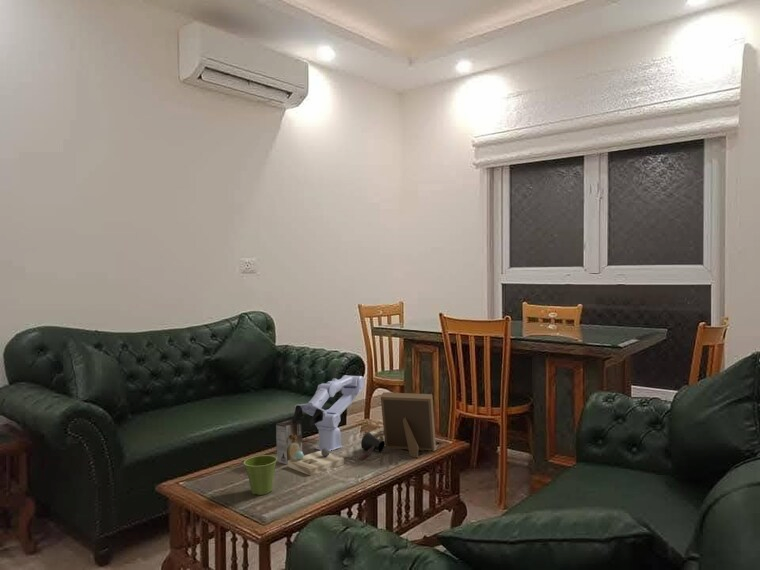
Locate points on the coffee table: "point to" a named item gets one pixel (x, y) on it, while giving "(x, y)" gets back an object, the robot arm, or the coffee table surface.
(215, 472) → the coffee table surface
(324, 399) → the robot arm
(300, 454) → the teal ball
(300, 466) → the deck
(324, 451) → the ball
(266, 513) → the coffee table surface
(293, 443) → the coffee box
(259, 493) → the plant pot
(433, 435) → the photo frame
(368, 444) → the coffee pot
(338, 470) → the coffee table surface
